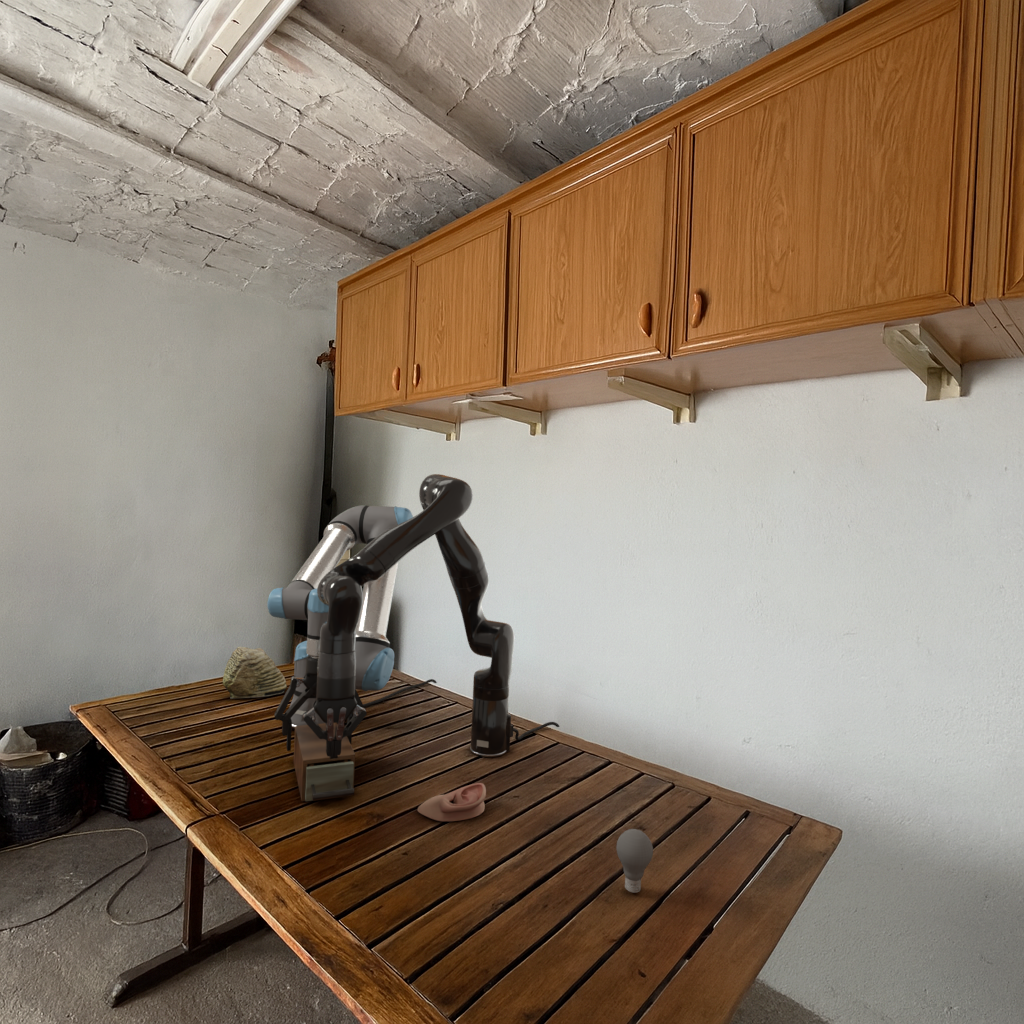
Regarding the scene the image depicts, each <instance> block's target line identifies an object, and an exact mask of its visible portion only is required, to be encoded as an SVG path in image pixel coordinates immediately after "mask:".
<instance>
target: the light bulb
mask: <svg viewBox="0 0 1024 1024" xmlns="http://www.w3.org/2000/svg"><path fill="white" fill-rule="evenodd" d="M615 849H616V854H617V857H618V859H619V861H620V863H621V865H622V867H623V873H624V874H623V875H624V876H625V878H624V888H625V890H627V891H628V892H630V893H634V894H635V893H639V892H640V891H641V889H642V887H641V886H642V879H643V877H644V875H645V871H646V868H647V867H648V866H649V864H650V863H651V861H652V859H653V855H654V847H653V843H652V841H651V838H649V836H648V835H647V834H646V833H645V832H643V831H642V830H641V829H636V828H629V829H627V830H625V831H623V832H622V833H621V834H620V835H619V837H618V839H617V841H616V847H615Z"/></svg>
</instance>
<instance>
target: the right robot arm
mask: <svg viewBox="0 0 1024 1024" xmlns="http://www.w3.org/2000/svg"><path fill="white" fill-rule="evenodd" d="M418 492H419V493H418V495H419V502H420V506H421V508H422V511H421V512H418V514H416V515H413V518H411V519H409V520H407V521H405V522H403V523H401V524H398V525H396V526H394V527H392V528H390V529H388V530H386V531H385V532H383V533H381V534H380V535H378V536H377V537H376V538H375V539H373V540H372V541H371V542H370V543H369V544H368V545H367V544H365V546H363V548H362V549H360V550H359V551H358V553H356V554H355V555H354V556H351V557H350V558H348V559H346V560H345V561H343V562H342V563H340V564H337V566H336V567H335V568H334V569H332V570H331V571H330V572H328V573H327V574H326V575H325V576H324V577H323V578H322V579H321V581H320V582H319V585H318V588H317V595H318V598H319V599H320V601H321V602H322V603H324V604H325V605H327V606H329V611H328V618H327V621H326V622H324V623H323V624H322V627H321V631H320V651H319V657H318V667H317V694H316V701H315V702H314V705H313V708H312V709H311V710H310V711H308V712H304V713H303V719H304V721H305V722H306V724H307V725H308V726H309V727H310V728H311V729H312V731H313V732H314V733H315V734H316V735H317V736H318V738H319V739H325V740H326V754H327V756H329V758H330V759H335V758H338V755H340V754H341V741H342V738H344V737H346V736H350V735H351V734H352V735H353V733H354V731H356V729H357V727H358V726H359V725H360V724H361V723H362V721H363V720H364V719H365V718H366V716H367V714H368V713H367V711H366V708H365V707H364V708H365V709H364V708H363V707H360V706H358V705H357V701H356V699H355V677H356V655H355V645H356V627H357V624H358V620H359V616H360V612H361V608H362V602H363V588H362V587H363V586H364V584H365V583H367V582H370V581H376V580H378V579H379V578H381V577H382V576H383V575H384V574H385V573H386V572H388V571H389V570H390V569H391V568H392V567H393V566H394V565H395V564H396V563H398V562H400V561H401V560H402V559H404V557H406V556H407V555H408V554H409V553H410V552H412V551H413V550H414V549H416V548H417V547H419V546H420V545H421V544H423V543H424V542H425V541H427V540H429V539H430V538H432V537H433V536H435V539H436V541H437V544H438V547H439V550H440V553H441V556H442V559H443V561H444V564H445V567H446V571H447V575H448V578H449V580H450V583H451V586H452V588H453V591H454V594H455V597H456V600H457V604H458V606H459V609H460V614H461V617H462V621H463V626H464V631H465V635H466V639H467V643H468V645H469V646H468V647H469V648H470V650H471V652H472V653H474V654H475V655H477V656H481V657H484V658H490V666H489V667H485V668H484V667H483V668H480V669H478V670H476V671H475V672H474V673H473V683H472V685H473V686H472V706H471V707H472V709H471V729H470V730H471V732H470V747H469V751H470V752H471V753H472V754H473V755H475V756H477V757H481V758H496V757H497V758H498V757H502V756H504V755H506V753H510V749H511V738H513V737H514V739H515V741H520V740H522V739H523V738H525V737H526V736H528V735H530V734H532V733H535V732H537V731H540V730H542V729H544V728H547V727H549V726H554V727H556V728H560V725H559V723H557V722H555V721H549V722H545V723H543V724H541V725H539V726H536V727H534V728H532V729H529V730H526V731H524V732H522V734H521V735H520V732H519V730H518V729H517V728H515V726H514V725H513V724H512V714H510V713H509V704H510V703H509V700H510V679H511V676H512V671H513V664H514V652H515V651H514V650H515V640H516V639H515V631H514V628H513V626H512V625H511V624H510V623H508V622H502V621H498V620H497V621H496V620H490V619H488V618H487V617H486V615H485V613H484V612H485V611H484V609H483V601H484V599H485V596H486V593H487V591H488V589H489V585H490V575H489V571H488V567H487V564H486V561H485V558H484V556H483V553H482V552H481V550H480V548H479V547H478V545H477V544H476V542H475V541H474V539H472V537H471V536H470V534H469V533H468V532H467V530H466V529H465V528H464V526H463V525H462V522H461V520H460V518H462V517H463V516H464V515H465V514H466V513H467V512H468V511H469V510H470V508H471V505H472V504H473V500H474V499H473V497H474V495H473V489H472V488H471V486H470V484H469V483H468V482H466V481H464V480H463V479H460V478H458V477H453V476H449V475H444V474H440V473H439V474H438V473H433V474H429V475H427V476H425V478H424V479H423V480H422V482H421V483H420V486H419V491H418ZM398 564H399V563H398ZM353 711H354V712H353ZM352 712H353V715H354V716H353V717H352V718H351V720H350V721H349V722H348V724H347V723H346V724H345V722H347V719H348V717H349V716H350V715H351V713H352ZM316 713H317V714H318V715H319V717H320V718H321V719H322V721H323V722H324V723H325V725H326V731H324V730H322V729H321V727H320V726H319V725H318V724H317V723H316V721H315V720H316V716H315V714H316ZM334 723H335V737H334V731H333V730H334ZM514 733H515V735H514Z"/></svg>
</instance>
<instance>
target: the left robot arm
mask: <svg viewBox="0 0 1024 1024" xmlns="http://www.w3.org/2000/svg"><path fill="white" fill-rule="evenodd" d="M413 517H414V515H413V513H412V511H411V510H410V509H409V508H407V507H401V506H396V505H395V506H388V505H387V506H385V505H384V506H383V505H364V504H363V505H362V504H361V505H356V506H353V507H350V508H348V509H346V510H344V511H342V512H341V513H339V514H337V515H336V516H335V517H334V518H332V520H331V521H330V522H329V523H328V524H327V525H326V527H325V528H324V530H323V537H322V539H321V540H320V541H319V542H318V544H317V545H316V546H315V548H314V549H313V551H312V552H311V553H310V555H309V557H308V558H307V559H306V560H305V562H304V563H303V565H302V566H301V567H300V569H299V570H298V572H297V573H296V574H295V576H294V577H293V579H291V581H290V582H289V584H288V585H287V587H276V588H274V589H272V590H271V591H270V593H269V596H268V598H267V610H268V613H269V615H270V616H271V617H272V618H277V619H278V618H279V619H284V620H298V621H299V620H300V621H301V620H302V621H307V633H306V640H304V641H302V642H299V643H298V644H297V645H296V647H295V652H294V653H295V654H294V659H293V661H294V672H293V675H292V676H291V677H290V683H289V686H288V688H287V690H286V691H285V693H284V695H283V697H282V698H281V701H280V703H279V704H278V706H277V708H276V710H275V711H274V715H273V716H274V719H275V721H281V722H282V723H281V735H282V736H286V745H285V747H286V752H291V751H292V731H295V726H302V725H307V724H306V722H305V721H304V719H303V713H304V712H308V711H310V710H311V709H312V708H313V705H314V702H315V701H316V694H317V667H318V657H319V651H320V631H321V627H322V624H323V623H324V622H326V621H327V618H328V611H329V606H327V605H325V604H324V603H322V602H321V601H320V599H319V598H318V595H317V588H318V585H319V582H320V581H321V579H322V578H323V577H324V576H325V575H326V574H327V573H328V572H330V571H331V570H332V569H334V568H335V567H337V566H338V565H339V563H340V561H341V560H342V558H343V557H344V555H345V553H346V552H347V551H350V550H352V548H353V547H354V546H355V545H357V544H359V545H360V544H365V545H368V544H369V543H370V542H371V541H372V540H373V539H375V538H376V537H377V536H378V535H380V534H381V533H383V532H385V531H386V530H388V529H390V528H392V527H394V526H396V525H398V524H401V523H403V522H405V521H407V520H409V519H411V518H413ZM399 562H400V561H399ZM399 562H398V563H396V564H395V565H394V566H393V567H392V568H391V569H390V570H389V571H388V572H386V573H385V574H384V575H383V576H382V577H381V578H379V579H378V580H376V581H370V582H367V583H365V584H364V585H363V588H362V592H363V602H362V608H361V612H360V616H359V620H358V624H357V627H356V645H355V655H356V677H355V699H356V701H357V705H358V706H360V707H363V708H364V709H365V710H366V707H369V706H372V705H375V704H378V703H381V702H383V701H386V700H388V699H390V698H392V697H395V696H396V695H399V694H401V693H403V692H405V691H409V690H411V689H415V688H418V687H423V686H425V685H428V684H430V683H433V684H437V683H438V681H436V679H433V678H430V679H428V680H425V681H423V682H420V683H416V684H413V685H409V686H406V687H404V688H400V689H399V690H396V691H394V692H392V693H390V694H387V695H385V696H383V697H381V698H379V699H375V700H372V701H369V702H366V703H363V702H362V700H361V697H360V695H359V693H358V691H357V690H359V691H364V692H368V691H370V692H371V691H373V692H374V691H375V692H377V691H381V690H382V689H384V688H385V686H386V685H387V684H388V683H389V681H390V678H391V677H392V676H391V675H392V673H393V671H394V666H395V652H394V650H393V649H392V648H391V647H390V645H391V642H390V641H389V639H388V638H387V631H388V625H389V621H390V620H389V619H390V614H391V608H392V603H393V597H394V591H395V585H396V579H397V574H398V568H399V564H400V563H399ZM290 701H291V702H290ZM288 706H289V707H288ZM287 707H288V709H287ZM286 709H287V710H286ZM285 710H286V711H285ZM353 712H354V711H353ZM353 712H352V713H351V715H350V716H349V717H348V719H347V720H346V725H347V724H348V722H349V721H350V720H351V718H352V717H353V716H354V715H353ZM315 716H316V720H315V721H316V723H317V724H323V723H324V722H323V721H322V719H321V718H320V717H319V715H318V714H317V713H316V714H315ZM347 737H348V740H349V742H350V744H351V745H352V743H353V741H352V739H353V733H352V734H351V735H350V736H347Z"/></svg>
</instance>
